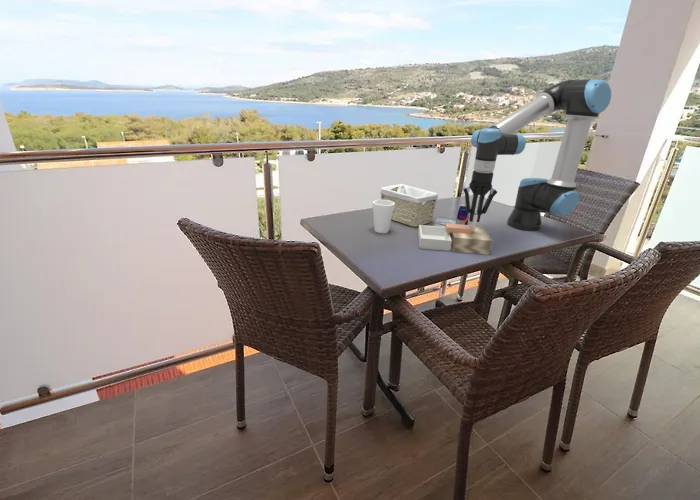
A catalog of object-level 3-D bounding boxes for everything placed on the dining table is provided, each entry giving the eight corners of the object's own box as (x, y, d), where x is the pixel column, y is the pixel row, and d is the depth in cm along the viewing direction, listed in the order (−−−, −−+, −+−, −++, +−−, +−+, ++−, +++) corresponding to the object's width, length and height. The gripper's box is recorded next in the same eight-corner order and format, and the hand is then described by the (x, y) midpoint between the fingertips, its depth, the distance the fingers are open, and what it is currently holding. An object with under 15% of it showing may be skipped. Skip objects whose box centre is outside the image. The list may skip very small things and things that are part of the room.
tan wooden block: (480, 239, 161) (483, 226, 158) (488, 254, 146) (491, 240, 144) (447, 237, 162) (450, 224, 160) (452, 251, 147) (454, 237, 145)
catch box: (445, 236, 162) (447, 227, 160) (450, 251, 147) (451, 240, 146) (417, 234, 163) (419, 224, 161) (419, 248, 149) (420, 238, 147)
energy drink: (460, 232, 168) (464, 207, 163) (452, 228, 172) (456, 203, 168) (469, 231, 170) (473, 205, 166) (460, 227, 175) (465, 202, 170)
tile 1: (456, 228, 154) (457, 224, 154) (458, 232, 150) (459, 228, 149) (444, 227, 155) (445, 223, 154) (445, 231, 150) (446, 227, 149)
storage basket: (376, 215, 186) (379, 186, 180) (398, 210, 196) (401, 182, 190) (414, 229, 170) (418, 198, 164) (435, 222, 180) (439, 192, 174)
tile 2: (469, 229, 154) (470, 225, 153) (471, 234, 149) (472, 229, 148) (456, 228, 154) (457, 224, 154) (458, 232, 150) (459, 228, 149)
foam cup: (395, 229, 168) (397, 201, 163) (388, 236, 160) (390, 207, 155) (375, 225, 171) (377, 198, 166) (367, 232, 164) (369, 203, 158)
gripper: (467, 171, 139) (457, 231, 148) (503, 174, 138) (491, 233, 147) (464, 168, 146) (455, 224, 155) (498, 170, 144) (487, 227, 154)
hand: (472, 229), depth 151 cm, fingers closed
